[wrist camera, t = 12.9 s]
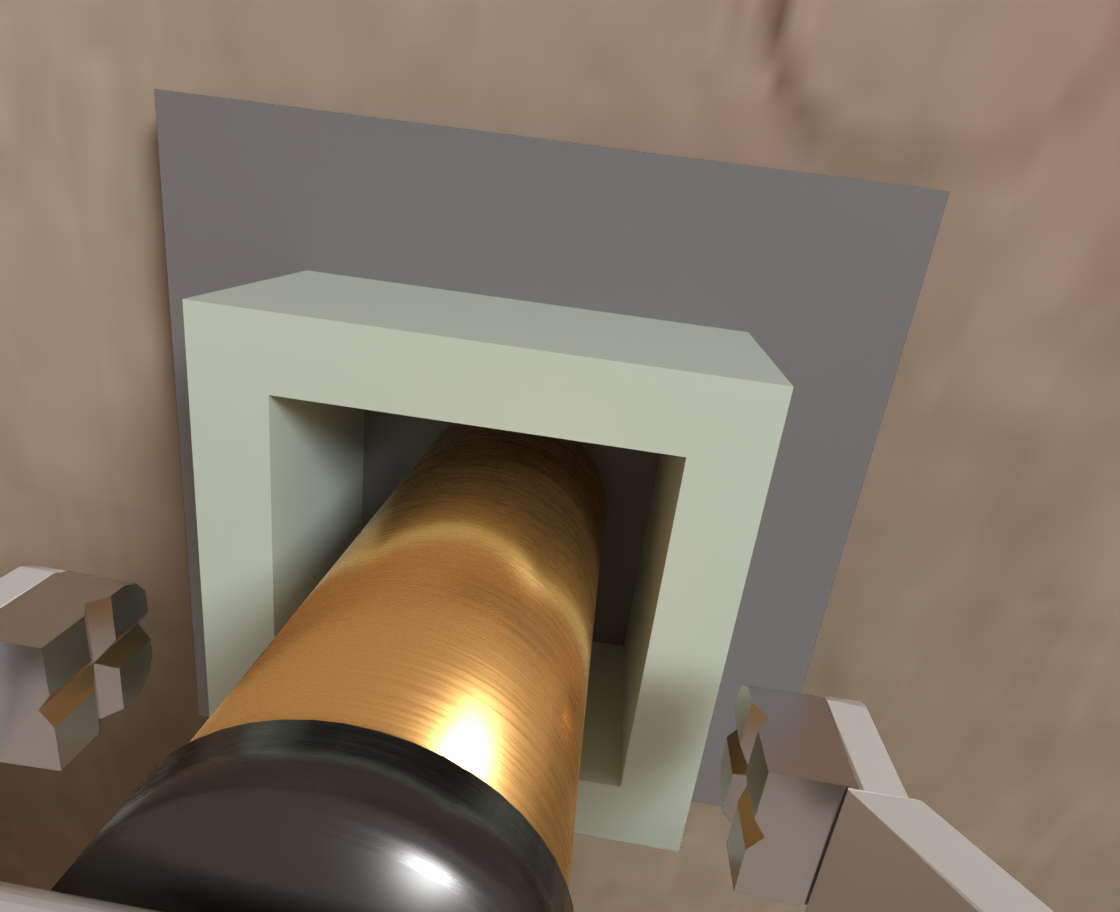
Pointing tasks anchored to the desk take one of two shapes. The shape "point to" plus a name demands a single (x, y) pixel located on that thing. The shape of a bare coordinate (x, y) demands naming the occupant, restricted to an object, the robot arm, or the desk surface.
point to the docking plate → (536, 389)
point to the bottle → (396, 714)
